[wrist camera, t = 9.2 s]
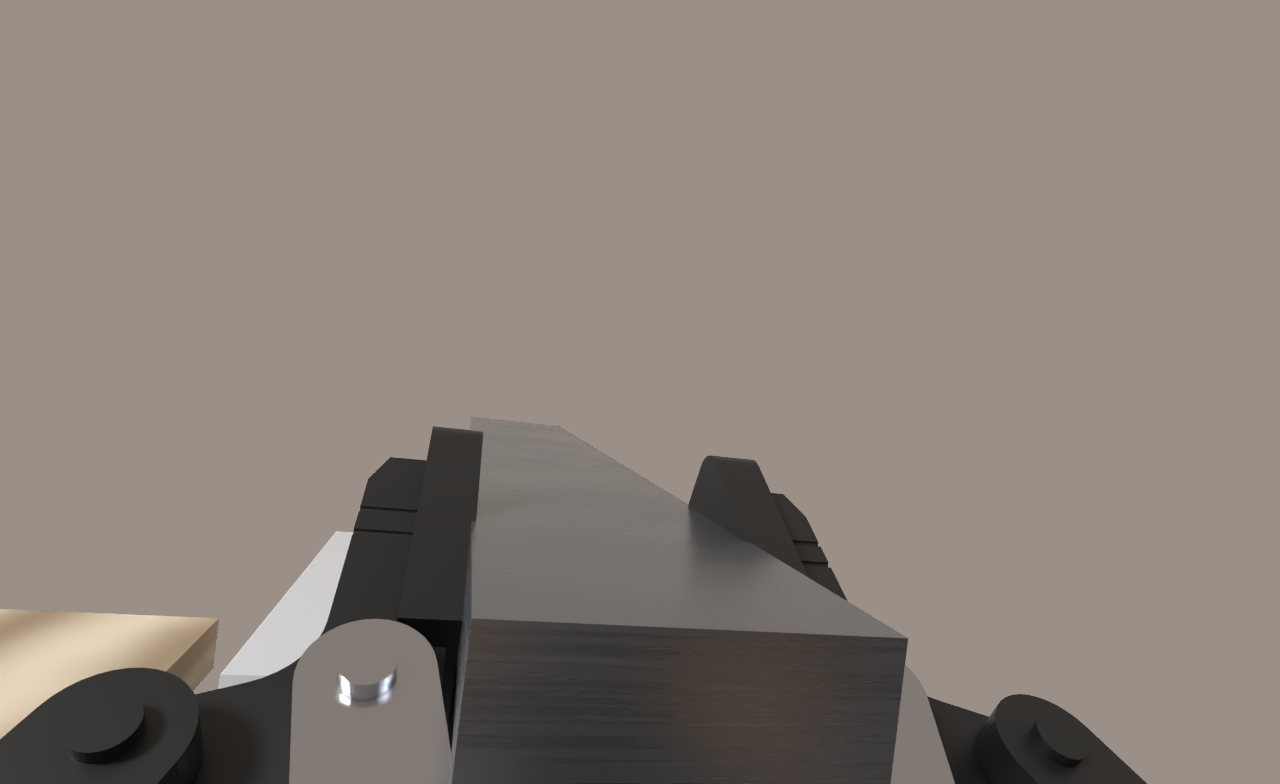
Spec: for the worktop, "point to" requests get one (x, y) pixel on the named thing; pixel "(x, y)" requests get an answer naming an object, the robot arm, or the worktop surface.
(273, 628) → the dial scale
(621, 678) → the steel bar
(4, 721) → the pine plinth
